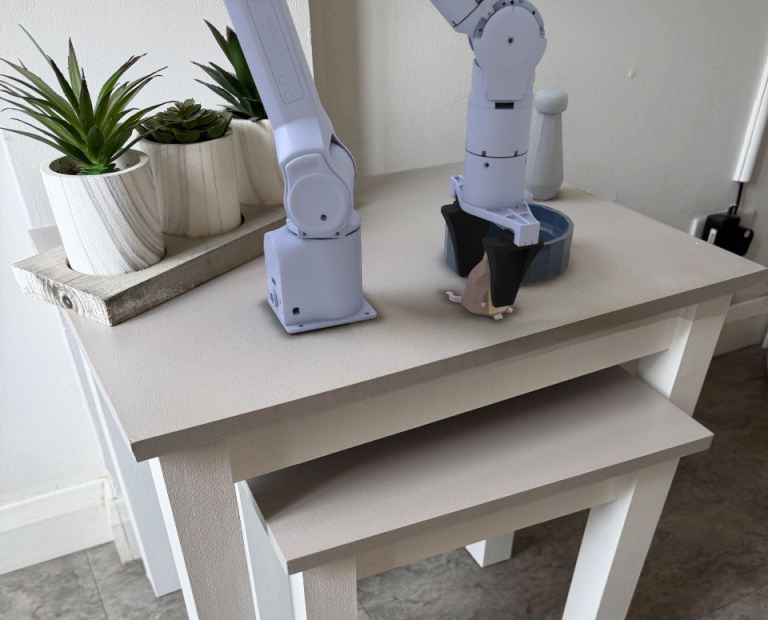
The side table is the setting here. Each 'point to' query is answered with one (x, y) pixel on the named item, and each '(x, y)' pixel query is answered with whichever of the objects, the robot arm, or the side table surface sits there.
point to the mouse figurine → (479, 293)
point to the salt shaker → (546, 145)
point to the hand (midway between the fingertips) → (484, 289)
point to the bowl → (550, 257)
